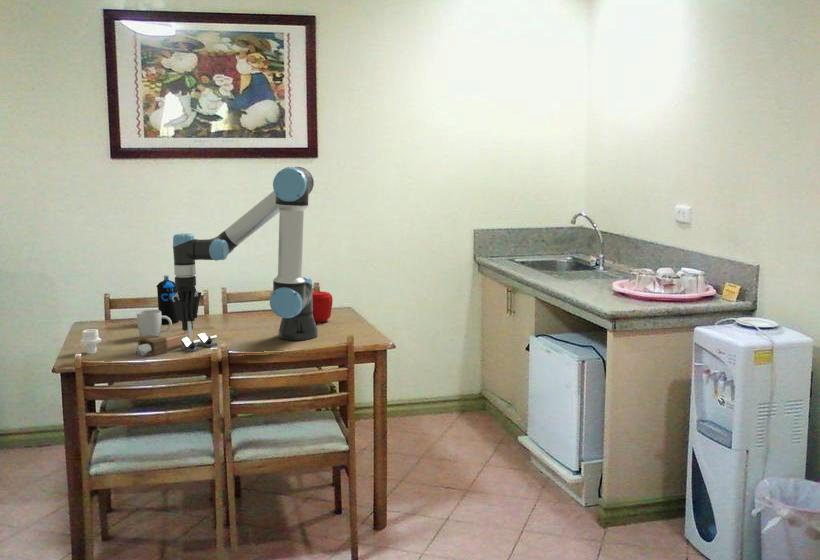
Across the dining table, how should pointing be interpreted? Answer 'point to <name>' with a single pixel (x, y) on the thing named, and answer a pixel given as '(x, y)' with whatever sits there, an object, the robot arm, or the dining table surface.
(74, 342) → the dining table surface
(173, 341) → the brown wooden block
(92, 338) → the pipe fitting
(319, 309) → the red bell pepper
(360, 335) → the dining table surface
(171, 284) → the aerosol can
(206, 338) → the v block
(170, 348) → the beam
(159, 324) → the mug
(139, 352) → the grey elongated lump
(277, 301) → the robot arm
